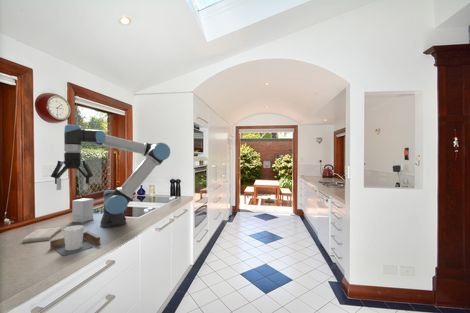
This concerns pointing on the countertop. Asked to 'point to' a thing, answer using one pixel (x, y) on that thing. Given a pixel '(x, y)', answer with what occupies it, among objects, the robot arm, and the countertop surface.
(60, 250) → the mat
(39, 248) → the countertop surface
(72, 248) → the white cup
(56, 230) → the washcloth
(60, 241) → the corner walls
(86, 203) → the supplement box
